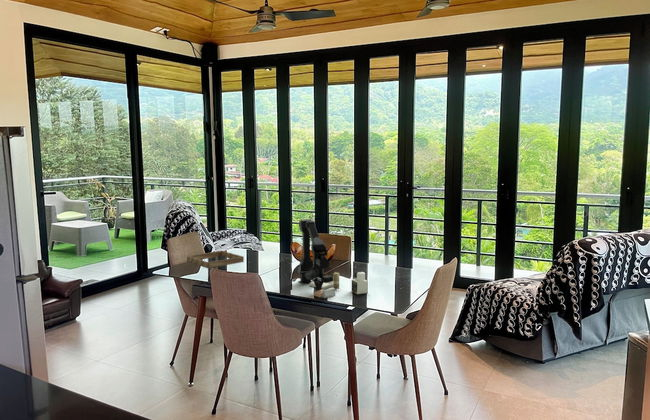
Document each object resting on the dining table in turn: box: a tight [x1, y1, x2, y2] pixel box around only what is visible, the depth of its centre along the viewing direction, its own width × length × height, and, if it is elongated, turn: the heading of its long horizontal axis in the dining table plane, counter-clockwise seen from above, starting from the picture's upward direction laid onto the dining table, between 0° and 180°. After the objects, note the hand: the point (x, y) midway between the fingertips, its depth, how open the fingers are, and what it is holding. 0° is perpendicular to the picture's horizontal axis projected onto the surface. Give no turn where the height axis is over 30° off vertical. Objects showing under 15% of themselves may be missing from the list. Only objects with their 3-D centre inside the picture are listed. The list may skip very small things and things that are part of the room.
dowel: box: [333, 272, 340, 290], centre depth 296 cm, size 3×3×9 cm
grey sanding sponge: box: [322, 287, 336, 299], centre depth 279 cm, size 2×8×4 cm, turn 134°
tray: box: [309, 281, 334, 290], centre depth 301 cm, size 12×12×2 cm
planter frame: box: [186, 250, 245, 269], centre depth 364 cm, size 29×29×4 cm
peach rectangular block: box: [312, 289, 324, 298], centre depth 282 cm, size 6×7×2 cm
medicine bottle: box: [351, 270, 369, 295], centre depth 287 cm, size 7×7×12 cm
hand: (318, 291), depth 285 cm, fingers closed
